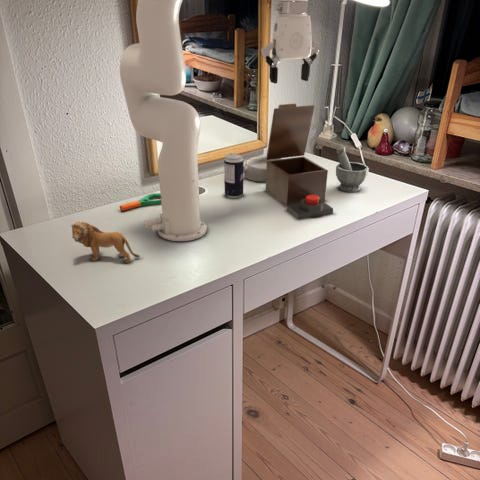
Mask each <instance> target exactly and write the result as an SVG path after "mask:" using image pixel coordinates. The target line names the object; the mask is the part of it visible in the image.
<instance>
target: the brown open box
mask: <svg viewBox="0 0 480 480" xmlns="http://www.w3.org/2000/svg"><path fill="white" fill-rule="evenodd" d="M328 172H329V171H328V169H327V168H325V167H323V166H321V165H319V164H317V163H316V162H314V161H313V160H311V159H309V158H307V157H305V155H304V156H296V157H287V158H282V159H279V160H270V161H267V166H266V182H265V193H268V194H269V195H270V196H271V197H273V198H274V199H275V200H276V201H278V202H279V203H280V204H282V205H283V206H284V207H286V208H287V205H291V204H298V203H300V201H301V200H302V199H304V198H306V196H308V195H317V196H319V199H321V200H323V201H324V202H326V192H327V184H328V183H327V182H328Z"/></svg>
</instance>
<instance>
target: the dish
mask: <svg viewBox="0 0 480 480" xmlns="http://www.w3.org/2000/svg"><path fill="white" fill-rule="evenodd" d="M266 157H267V155H266V156H265V155H264V156H257V157H251V158H249V159H248V160H246V161H245V163H244V178H246V179H248V180H251V181H255V182H258V183H259V182H260V183H261V182H262V183H266V166H267V161H270V160H267V159H266ZM279 159H283V158H279ZM279 159H271V160H279Z"/></svg>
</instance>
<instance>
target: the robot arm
mask: <svg viewBox="0 0 480 480" xmlns="http://www.w3.org/2000/svg"><path fill="white" fill-rule="evenodd" d="M183 1H184V0H138V1H137V4H136V5H137V6H136V13H135V16H136V17H135V20H136V22H135V23H136V29H137V34H138V35H137V36H138V42H137V43H132V44H130V45H129V46H126V48H125V49H124V50H123V52H122V54H121V57H120V60H119V75H120V76H119V77H120V83H121V86H122V91H123V94H124V99H125V103H126V108H127V111H128V115H129V119H130V122H131V125H132V127H133V128H134V130H135V132H137V133H138V134H139V135H140V136H142V137H144V138H146V139H150V140H154V141H158V142H160V143H162V145H161V149H160V152H159V155H158V158H157V171H158V172H157V173H158V182H159V192H160V194H161V198H160V200H161V204H160V205H161V213H159V217H156V218H155V219H147V220H144V222H143V223H144V228H145V229H151V230H152V231H157V233H158V235H159V236H160V237H161V238H163V239H165V240H166V241H167V240H168V241H173V242H189V241H194V240H197V239H200V238H201V237H203V236H205V235H206V233H207V228H208V227H207V224H206V223H205V222H204V221H202V220H201V207H200V206H201V205H200V186H199V185H200V184H199V165H198V164H199V163H198V160H199V159H198V153H199V152H198V150H199V140H200V133H201V118H200V116H199V113H198V111H197V110H196V108H195V107H194V106H193V105H191V104H189V103H187V102H185V101H182V100H178V99H173V98H168V97H162V96H176V95H179V94H180V93H181V92H183V90H184V88H185V86H186V83H187V71H186V64H185V57H184V49H183V44H182V38H181V31H180V20H179V18H180V10H181V7H182V4H183ZM308 6H309V0H278V2H277V3H276V4H274V5H273V10H274V11H275V12H276V11H277V14H278V15H276V16H275V20H274V25H273V30H272V31H273V32H272V39H271V40H272V41H270V42H269V43H267V44H266V45H265V46H263V47H262V48H261V49H260V50H261V51H260V52H261V54H262V57H263V60H264V62H266V64H267V66H268V67H269V76H268V77H269V78H268V79H269V80H270V83H271V84H274V85H275V84H278V81H279V80H278V78H279V76H278V75H279V68H278V66H277V65H279V63H280V61H281V60H302V62H303V63H302V64H301V69H300V80H302V81H304V82H309V77H310V75H311V74H310V73H311V66H312V65H313V62H314V61H315V60H316V58H317V56H318V54H319V51H320V49H321V46H320V45H319V44H317V43H315V42H314V41H312V38H313V37H312V36H313V35H312V20H311V15H308V10H309V9H308ZM270 51H271V55H272V56H270V54H269V53H270Z"/></svg>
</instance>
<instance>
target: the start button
mask: <svg viewBox="0 0 480 480" xmlns="http://www.w3.org/2000/svg"><path fill="white" fill-rule="evenodd" d="M306 204H310V205H316V204H319V196H317V195H308V196H306Z"/></svg>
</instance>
